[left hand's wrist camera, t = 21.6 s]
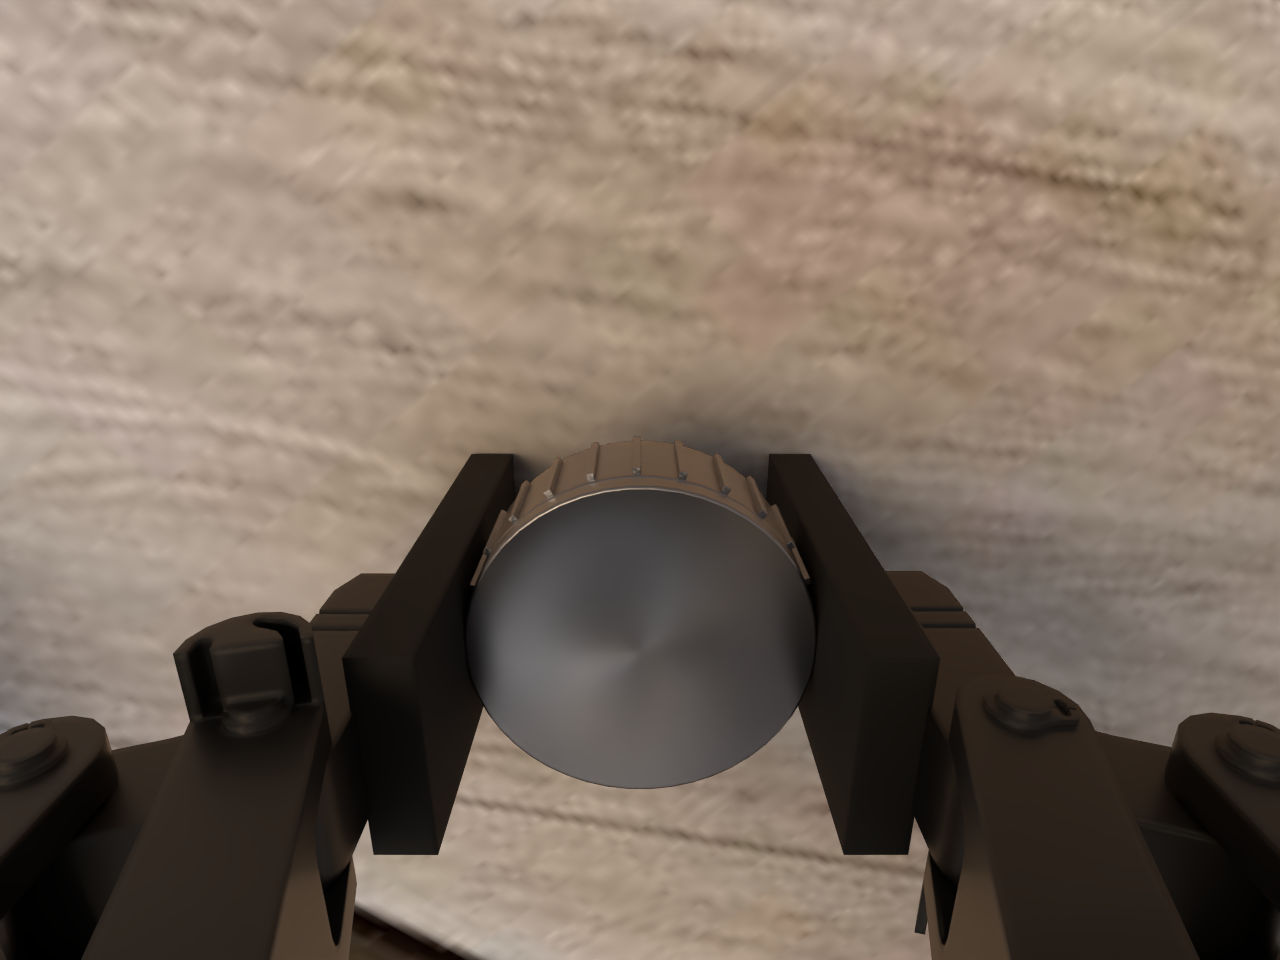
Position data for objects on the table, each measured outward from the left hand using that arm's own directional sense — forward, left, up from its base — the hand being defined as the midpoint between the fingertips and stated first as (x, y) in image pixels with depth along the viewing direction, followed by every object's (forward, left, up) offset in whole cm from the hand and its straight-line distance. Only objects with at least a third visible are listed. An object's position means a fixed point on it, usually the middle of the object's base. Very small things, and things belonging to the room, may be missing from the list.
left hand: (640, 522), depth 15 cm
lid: (0, 0, +4) cm, 4 cm away
